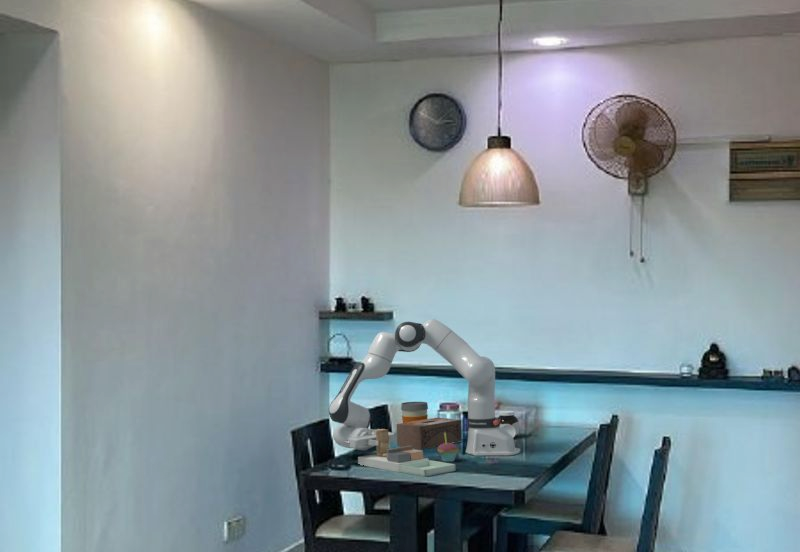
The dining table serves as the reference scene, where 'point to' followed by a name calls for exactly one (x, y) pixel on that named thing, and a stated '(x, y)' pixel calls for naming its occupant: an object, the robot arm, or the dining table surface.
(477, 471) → the dining table surface
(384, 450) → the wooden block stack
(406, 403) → the reusable coffee cup
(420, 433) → the tissue box cover
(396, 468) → the slab
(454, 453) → the cupcake
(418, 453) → the terracotta tile
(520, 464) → the dining table surface
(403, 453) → the charcoal tile
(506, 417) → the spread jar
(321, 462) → the dining table surface
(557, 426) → the dining table surface
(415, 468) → the tray
